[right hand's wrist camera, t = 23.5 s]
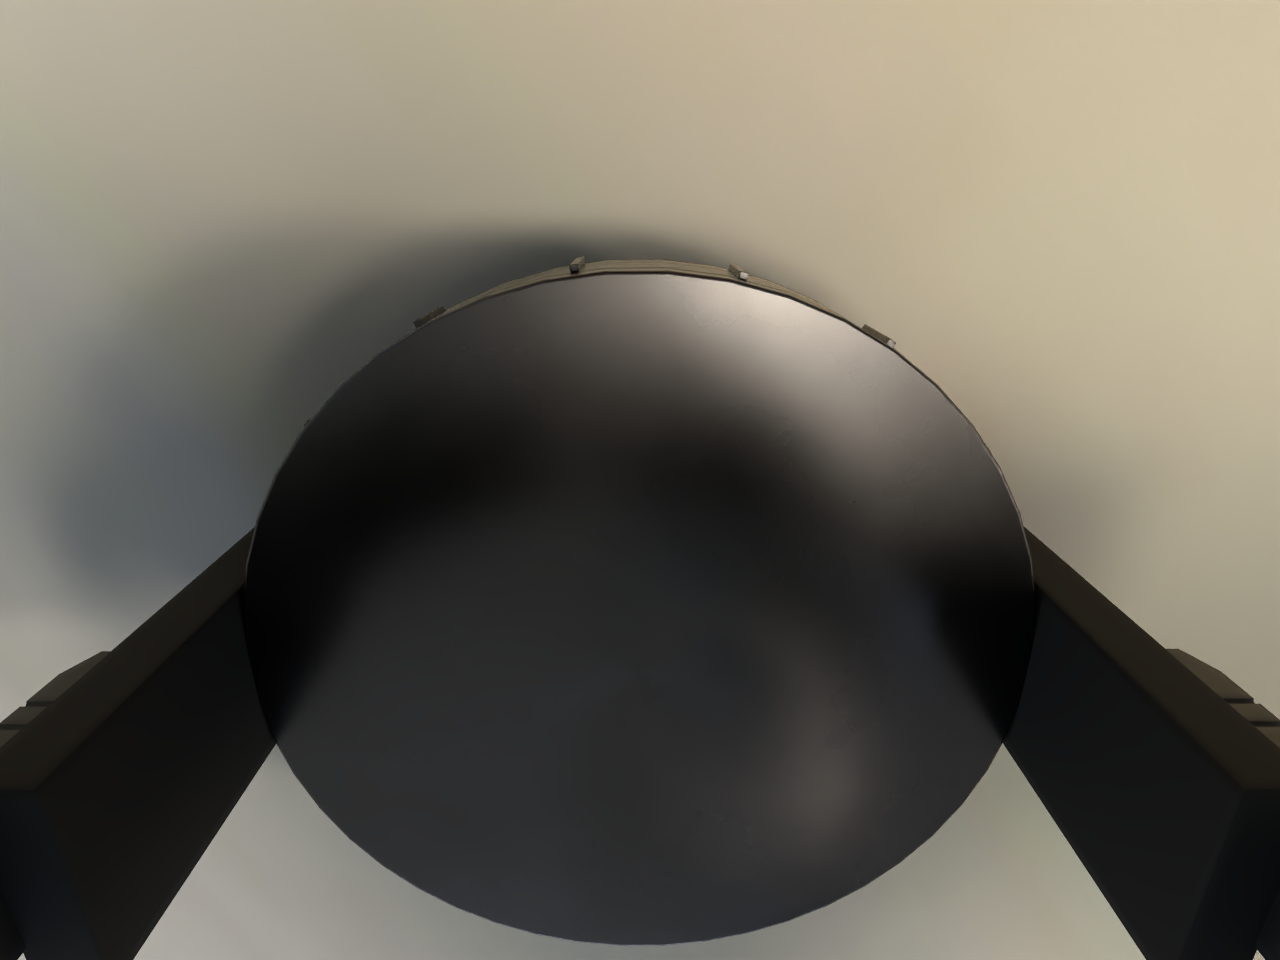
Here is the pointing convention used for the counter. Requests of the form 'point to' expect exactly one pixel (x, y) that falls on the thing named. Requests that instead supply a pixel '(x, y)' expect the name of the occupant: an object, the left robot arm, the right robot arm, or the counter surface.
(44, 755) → the right robot arm
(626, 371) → the lid
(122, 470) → the counter surface
